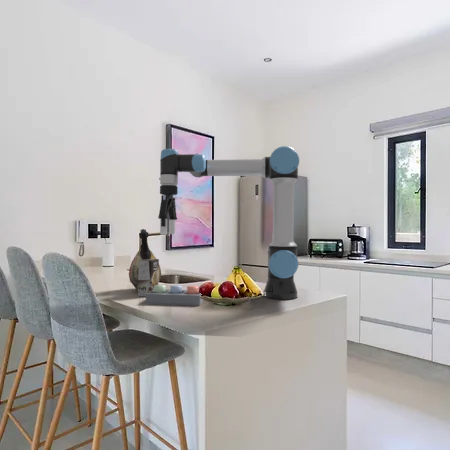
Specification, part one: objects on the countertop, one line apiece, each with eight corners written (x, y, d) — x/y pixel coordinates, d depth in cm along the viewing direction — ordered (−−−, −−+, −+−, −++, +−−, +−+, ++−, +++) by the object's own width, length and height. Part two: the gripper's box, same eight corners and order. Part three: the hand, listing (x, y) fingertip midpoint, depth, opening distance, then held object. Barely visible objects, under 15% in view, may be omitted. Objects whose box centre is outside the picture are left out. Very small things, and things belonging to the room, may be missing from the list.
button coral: (199, 295, 148) (199, 285, 148) (197, 297, 144) (197, 287, 144) (188, 295, 149) (188, 285, 149) (185, 297, 144) (186, 287, 144)
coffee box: (151, 297, 156) (151, 260, 156) (137, 296, 158) (138, 260, 158) (158, 293, 165) (159, 258, 165) (146, 292, 167) (146, 258, 167)
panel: (204, 299, 152) (204, 290, 152) (199, 305, 140) (199, 295, 140) (154, 298, 154) (154, 288, 154) (145, 303, 142) (145, 293, 142)
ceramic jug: (129, 288, 178) (129, 228, 179) (160, 287, 182) (160, 229, 182) (127, 294, 162) (128, 228, 162) (162, 293, 165) (162, 229, 166)
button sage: (166, 294, 150) (167, 284, 150) (163, 296, 145) (163, 286, 145) (155, 293, 150) (155, 284, 150) (152, 296, 145) (152, 286, 145)
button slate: (183, 294, 149) (183, 285, 149) (180, 297, 144) (180, 287, 144) (171, 294, 150) (172, 285, 150) (169, 296, 145) (169, 286, 145)
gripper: (167, 188, 166) (167, 233, 166) (151, 181, 141) (150, 234, 141) (183, 188, 165) (182, 234, 165) (169, 181, 141) (168, 235, 140)
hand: (167, 234), depth 153 cm, fingers open, 13 cm apart
